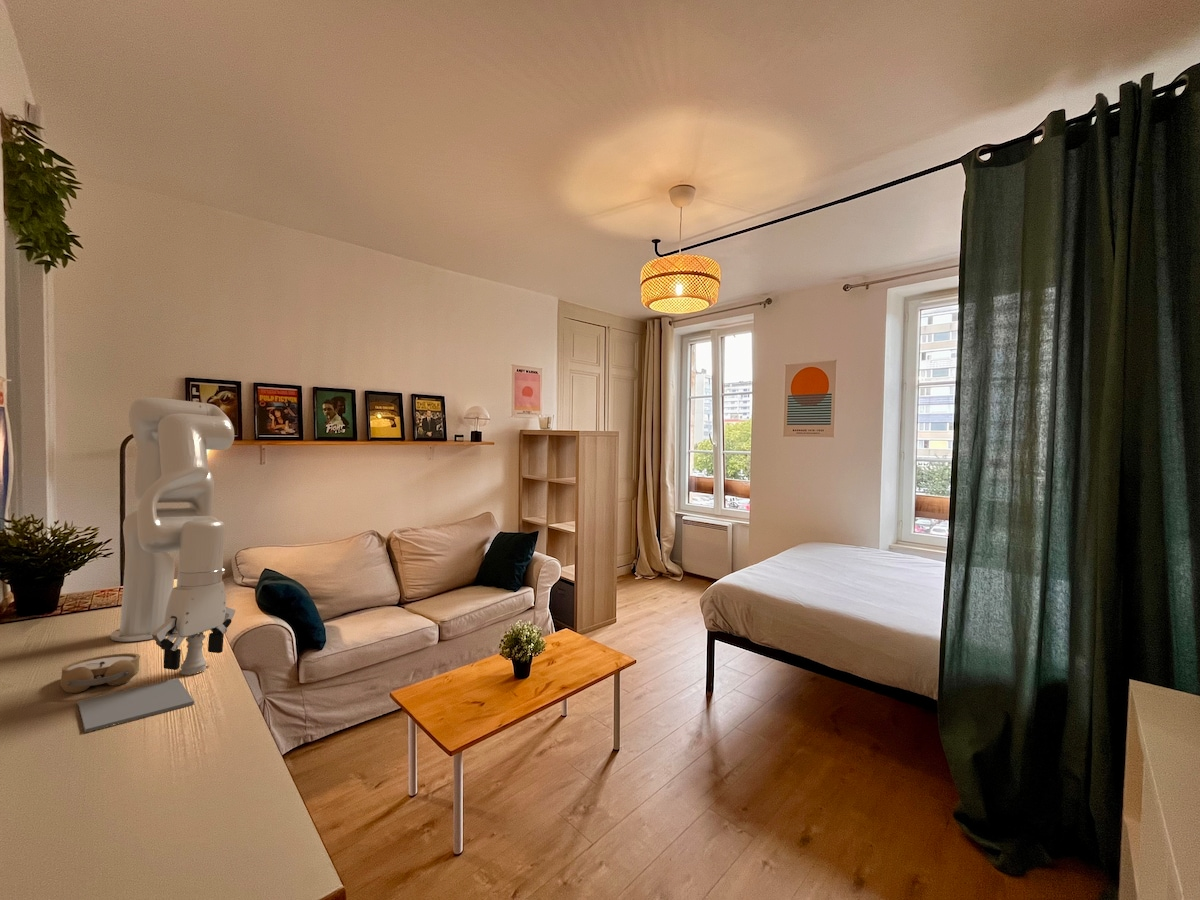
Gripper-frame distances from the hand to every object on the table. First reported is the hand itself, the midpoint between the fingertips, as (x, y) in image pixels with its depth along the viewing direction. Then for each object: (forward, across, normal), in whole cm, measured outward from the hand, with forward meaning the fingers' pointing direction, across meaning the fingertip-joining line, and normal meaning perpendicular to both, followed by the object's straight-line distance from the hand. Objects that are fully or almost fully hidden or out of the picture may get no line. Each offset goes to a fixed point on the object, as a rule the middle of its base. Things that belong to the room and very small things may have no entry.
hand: (194, 660), depth 105 cm
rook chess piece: (+3, 0, 0) cm, 3 cm away
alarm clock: (+3, +8, -13) cm, 15 cm away
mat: (+3, +14, +4) cm, 15 cm away
